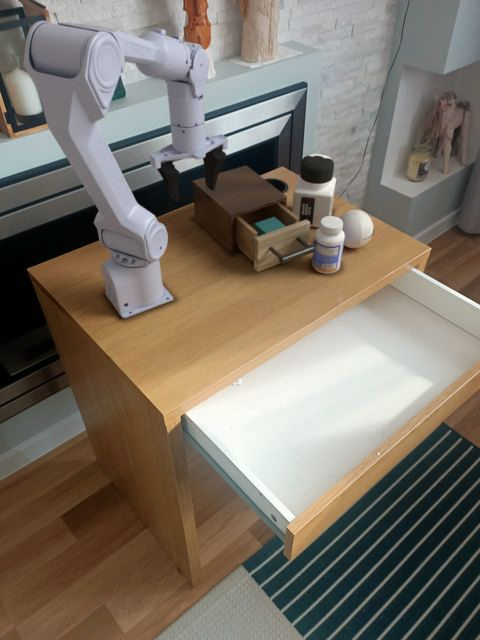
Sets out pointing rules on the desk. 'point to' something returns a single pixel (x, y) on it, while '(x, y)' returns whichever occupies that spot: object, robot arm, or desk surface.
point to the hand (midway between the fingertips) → (192, 193)
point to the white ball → (356, 228)
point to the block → (268, 226)
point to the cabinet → (232, 201)
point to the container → (314, 189)
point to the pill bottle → (328, 245)
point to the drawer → (272, 237)
